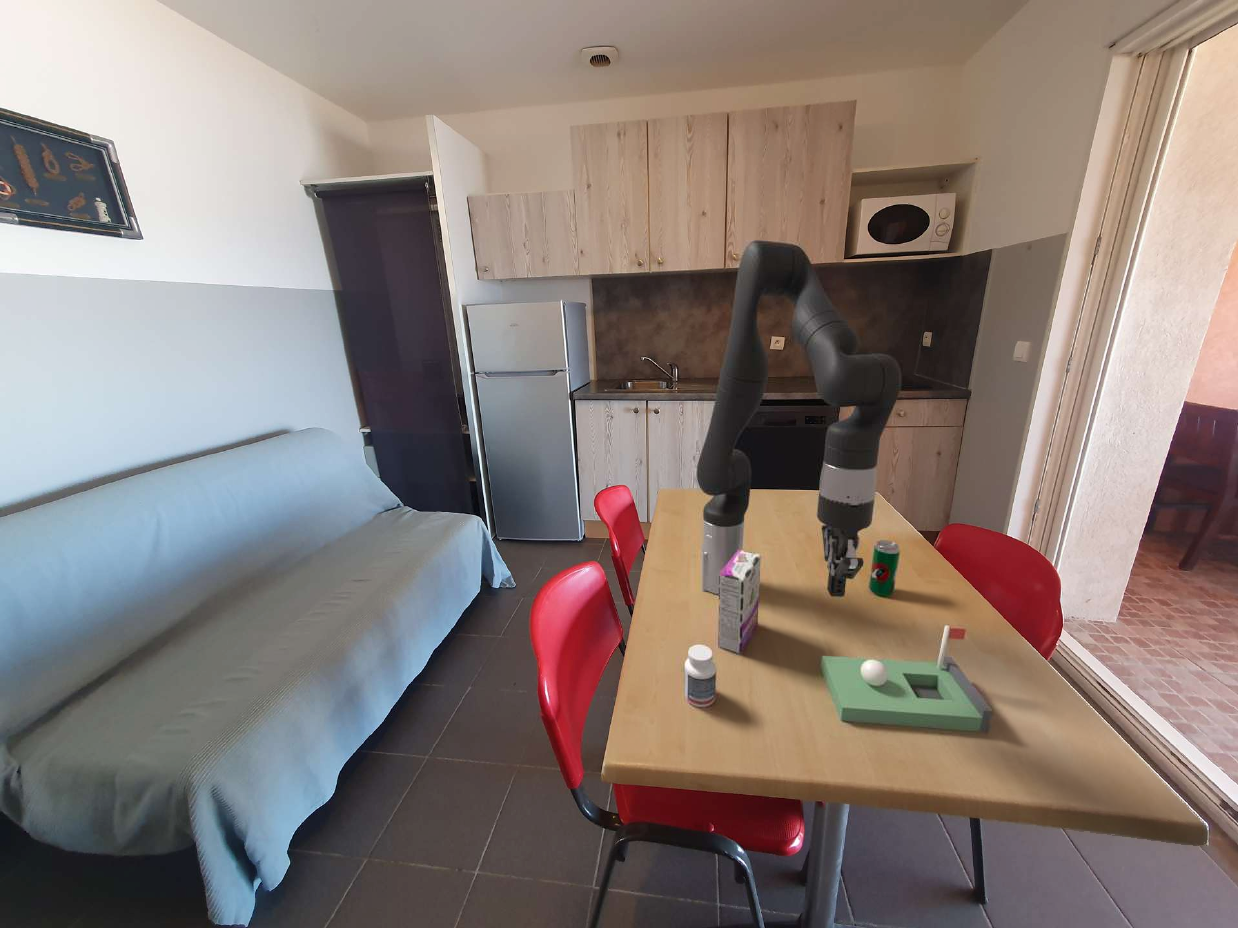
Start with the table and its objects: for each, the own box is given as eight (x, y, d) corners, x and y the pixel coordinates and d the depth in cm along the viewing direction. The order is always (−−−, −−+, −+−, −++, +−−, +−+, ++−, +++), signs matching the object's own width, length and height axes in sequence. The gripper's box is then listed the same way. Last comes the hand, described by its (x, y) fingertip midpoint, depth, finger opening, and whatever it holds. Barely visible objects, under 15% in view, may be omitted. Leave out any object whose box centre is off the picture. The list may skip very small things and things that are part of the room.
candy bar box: (734, 617, 102) (737, 548, 97) (758, 624, 100) (762, 553, 95) (715, 647, 93) (718, 572, 88) (740, 655, 91) (744, 579, 86)
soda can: (896, 598, 107) (904, 550, 103) (872, 596, 108) (878, 548, 104) (889, 586, 111) (896, 540, 108) (865, 584, 112) (871, 538, 109)
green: (840, 720, 76) (848, 662, 72) (820, 667, 87) (826, 615, 84) (991, 732, 72) (1006, 672, 69) (950, 675, 84) (961, 622, 81)
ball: (864, 690, 78) (867, 670, 77) (855, 673, 82) (858, 653, 81) (890, 692, 77) (893, 671, 76) (880, 674, 81) (883, 655, 80)
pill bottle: (721, 703, 80) (722, 659, 77) (692, 711, 78) (693, 666, 76) (706, 681, 85) (707, 639, 82) (679, 688, 83) (679, 645, 81)
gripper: (809, 477, 78) (801, 572, 83) (832, 508, 65) (822, 617, 70) (857, 478, 77) (847, 573, 82) (891, 509, 64) (876, 620, 69)
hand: (835, 594), depth 76 cm, fingers closed
